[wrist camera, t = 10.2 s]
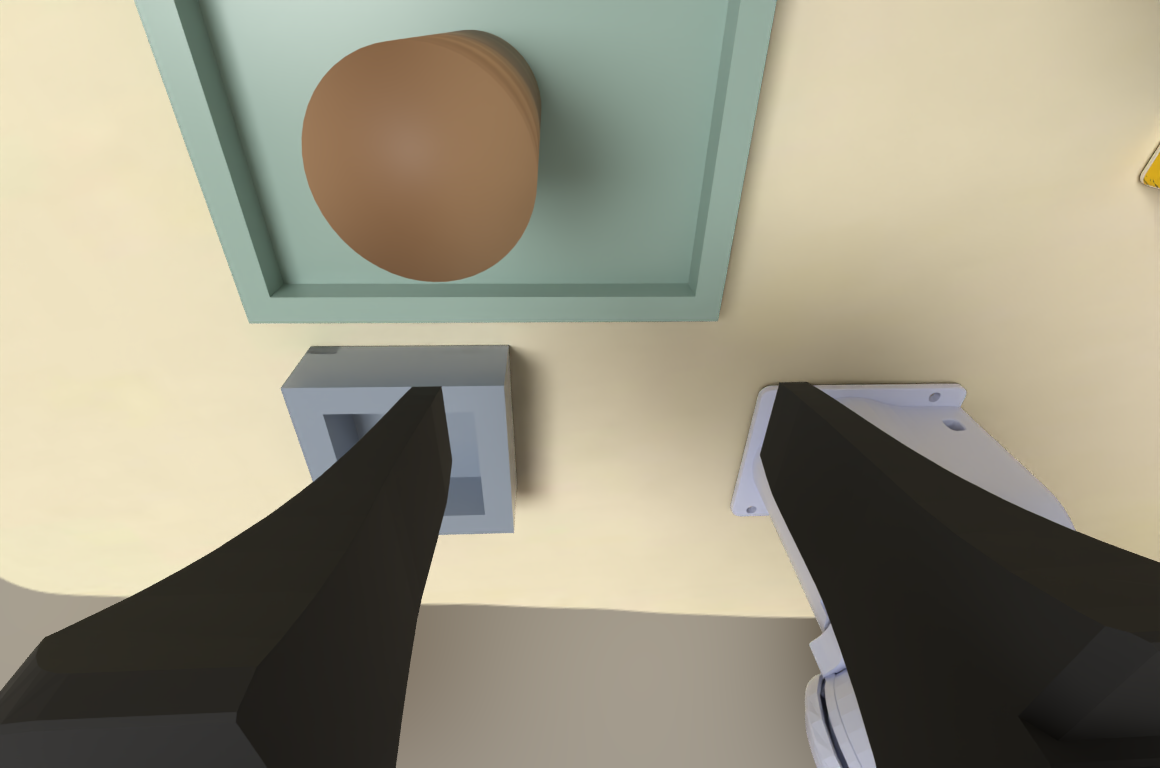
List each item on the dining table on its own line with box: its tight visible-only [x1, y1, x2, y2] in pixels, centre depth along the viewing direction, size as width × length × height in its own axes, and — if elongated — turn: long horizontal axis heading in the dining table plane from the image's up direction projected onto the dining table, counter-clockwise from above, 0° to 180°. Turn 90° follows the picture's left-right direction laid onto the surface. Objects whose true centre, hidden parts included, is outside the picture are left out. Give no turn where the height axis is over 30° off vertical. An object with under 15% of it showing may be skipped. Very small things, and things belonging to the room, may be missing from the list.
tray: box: [134, 0, 777, 323], centre depth 17 cm, size 17×14×2 cm
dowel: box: [301, 30, 541, 282], centre depth 13 cm, size 4×4×9 cm
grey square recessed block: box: [281, 345, 517, 535], centre depth 23 cm, size 8×8×3 cm
